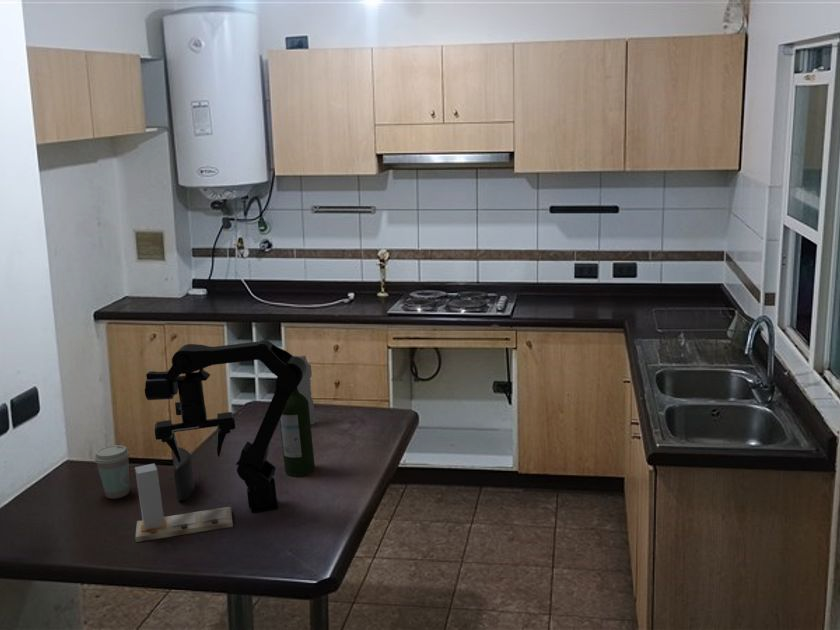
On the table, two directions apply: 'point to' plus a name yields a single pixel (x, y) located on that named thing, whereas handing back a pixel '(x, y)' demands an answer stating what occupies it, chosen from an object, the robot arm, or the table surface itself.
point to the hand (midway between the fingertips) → (199, 458)
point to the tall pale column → (307, 388)
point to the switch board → (187, 524)
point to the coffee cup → (114, 470)
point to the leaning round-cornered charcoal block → (183, 474)
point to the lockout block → (149, 496)
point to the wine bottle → (297, 436)
